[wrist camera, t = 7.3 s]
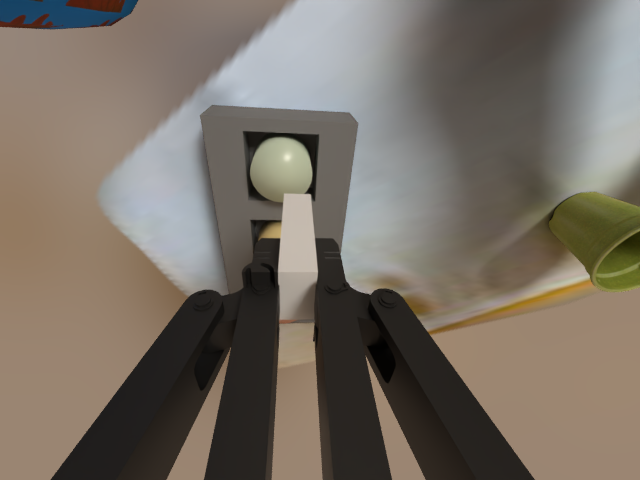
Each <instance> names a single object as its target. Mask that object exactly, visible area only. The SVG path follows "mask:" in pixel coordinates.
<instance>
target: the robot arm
mask: <svg viewBox="0 0 640 480" xmlns="http://www.w3.org/2000/svg"><path fill="white" fill-rule="evenodd" d="M242 280H243V288H242V289H241V290H239V291H237V292H235V293H232V294H229V295H224V296H221V295H220V294H219V293H218V292H216V291H213V290H202V291H198V292H196V293H194V294H192V295H191V296H190V297H189V298H188V299H187V300H186V301H185V302H184V303H183V305H182V306H181V307H180V309H179V310H178V311H177V313H176V314H175V315H174V317H173V318H172V319H171V321H170V322H169V323H168V325H167V326H166V327H165V329H164V330H163V331H162V333H161V334H160V335H159V337H158V338H157V339H156V341H155V342H154V343H153V345H152V346H151V347H150V349H149V350H148V351H147V352H146V354H145V355H144V356H143V358H142V359H141V360H140V362H139V363H138V365H137V366H136V367H135V368H134V370H133V371H132V372H131V374H130V375H129V376H128V378H127V379H126V380H125V382H124V383H123V384H122V386H121V387H120V388H119V390H118V391H117V392H116V394H115V395H114V396H113V398H112V399H111V400H110V402H109V403H108V404H107V406H106V407H105V408H104V410H103V411H102V412H101V414H100V415H99V416H98V418H97V419H96V420H95V422H94V423H93V424H92V425H91V427H90V428H89V429H88V431H87V432H86V434H85V435H84V436H83V437H82V439H81V440H80V441H79V443H78V444H77V445H76V447H75V448H74V449H73V451H72V452H71V453H70V455H69V456H68V458H67V459H66V460H65V461H64V463H63V464H62V465H61V467H60V468H59V470H58V471H57V472H56V473H55V475H54V476H53V477H52V479H51V480H166V479H167V477H168V475H169V473H170V471H171V469H172V467H173V465H174V463H175V461H176V459H177V456H178V455H179V453H180V450H181V448H182V446H183V444H184V442H185V440H186V438H187V436H188V434H189V432H190V430H191V428H192V426H193V424H194V422H195V420H196V418H197V416H198V414H199V412H200V409H201V407H202V405H203V403H204V401H205V399H206V397H207V395H208V393H209V391H210V389H211V387H212V385H213V383H214V381H215V379H216V377H217V375H218V372H219V371H220V368H221V366H222V364H223V362H224V360H225V358H226V356H227V354H228V352H229V350H230V347H231V351H230V356H229V362H228V366H227V371H226V376H225V381H224V385H223V390H222V395H221V400H220V405H219V410H218V414H217V419H216V425H215V429H214V434H213V439H212V444H211V448H210V453H209V458H208V463H207V468H206V473H205V478H204V480H271V478H272V458H273V441H274V440H273V439H274V421H275V404H276V385H277V367H278V348H279V320H303V319H314V318H315V325H314V337H313V341H315V354H316V370H317V371H316V372H317V389H318V405H319V423H320V441H321V458H322V474H323V480H392V478H391V473H390V468H389V463H388V459H387V454H386V450H385V445H384V440H383V436H382V431H381V426H380V422H379V417H378V412H377V408H376V403H375V398H374V394H373V389H372V384H371V380H370V375H369V371H368V366H367V361H366V357H367V359H368V361H369V363H370V365H371V367H372V369H373V371H374V373H375V375H376V377H377V380H378V381H379V384H380V386H381V388H382V390H383V392H384V394H385V396H386V398H387V400H388V402H389V404H390V406H391V408H392V411H393V413H394V415H395V417H396V419H397V421H398V423H399V425H400V427H401V429H402V431H403V433H404V435H405V437H406V439H407V442H408V444H409V446H410V448H411V450H412V452H413V454H414V456H415V458H416V460H417V462H418V464H419V466H420V468H421V471H422V473H423V475H424V477H425V479H426V480H535V479H534V478H533V477H532V475H531V474H530V473H529V471H528V470H527V468H526V467H525V466H524V464H523V463H522V462H521V460H520V459H519V457H518V456H517V455H516V453H515V452H514V451H513V449H512V448H511V446H510V445H509V444H508V442H507V441H506V439H505V438H504V437H503V435H502V434H501V433H500V431H499V430H498V428H497V427H496V426H495V424H494V423H493V422H492V420H491V419H490V417H489V416H488V415H487V413H486V412H485V411H484V409H483V408H482V406H481V405H480V404H479V402H478V401H477V399H476V398H475V397H474V396H473V394H472V393H471V391H470V390H469V388H468V387H467V386H466V384H465V383H464V382H463V380H462V379H461V377H460V376H459V375H458V374H457V372H456V371H455V369H454V368H453V366H452V365H451V364H450V362H449V361H448V360H447V358H446V357H445V355H444V354H443V353H442V352H441V350H440V349H439V347H438V346H437V344H436V343H435V342H434V340H433V339H432V337H431V336H430V335H429V333H428V332H427V331H426V329H425V328H424V326H423V325H422V324H421V322H420V321H419V320H418V318H417V317H416V315H415V314H414V313H413V311H412V310H411V309H410V307H409V306H408V304H407V303H406V302H405V300H404V299H403V298H402V297H401V296H400V295H399V294H398V293H397V292H395V291H393V290H390V289H378V290H375V291H374V292H373V293H372V294H371V295H369V294H365V293H361V292H359V291H356V290H354V289H353V288H351V287H350V285H349V283H348V282H346V279H345V275H344V270H343V265H342V260H341V255H340V250H339V245H338V244H337V242H336V241H335V240H334V239H333V238H315V235H314V224H313V213H312V203H311V194H285V193H284V201H283V213H282V226H281V238H261V239H260V240H259V241H258V242H257V243H256V244H255V249H254V255H253V260H252V263H250V264H248V265H247V266H245V267H244V268H243V270H242ZM365 355H366V356H365Z"/></svg>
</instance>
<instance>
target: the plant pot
mask: <svg viewBox="0 0 640 480" xmlns="http://www.w3.org/2000/svg"><path fill="white" fill-rule="evenodd" d="M549 228H550V230H551V232H552V233H553V234H554V235H555V236H556V237H557V238H558V239H559V240H560V241H561V242H562V243H563V244H564V245H565V246H566V247H567V248H568V249H569V250H570V251H571V252H572V253H573V254H574V256H575V257H576V258H577V259H578V260H579V261H580V262H581V263H582V264H583V265H584V266H585V269H586V271H587V272H588V274H589V275H590V279H591V282H592V283H593V285H594V286H596V287H597V288H598V289H600V290H602V291H606V292H623V291H629V290H632V289H635V288H639V287H640V207H639V206H636V205H633V204H630V203H627V202H624V201H621V200H618V199H615V198H612V197H609V196H606V195H603V194H600V193H597V192H588V193H579V194H576V195H574V196H572V197H570V198H568V199H567V200H565V201H564V202H563V203H562V204H560V205H559V206H558V207H557V208H556V210H555V212H554V215H553V218H552V219H551V220H550V221H549Z"/></svg>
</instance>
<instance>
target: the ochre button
mask: <svg viewBox="0 0 640 480" xmlns="http://www.w3.org/2000/svg"><path fill="white" fill-rule="evenodd" d="M281 226H282V220H268V221H267V222H266V223H265V224H264V225H263V226H262V227H261V229H260V232H259V237H258V241H259V240H260V239H261V238H281Z"/></svg>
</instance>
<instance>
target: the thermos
mask: <svg viewBox="0 0 640 480" xmlns="http://www.w3.org/2000/svg"><path fill="white" fill-rule="evenodd" d="M137 1H138V0H0V27H14V28H35V29H66V28H85V27H99V26H111V25H113V24H115V23H116V22H118V21H119V20H121V19H122V18H124V17H126V16H127V15H129V14H131V12H132V11H133V9H134V7H135V5H136V3H137Z"/></svg>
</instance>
